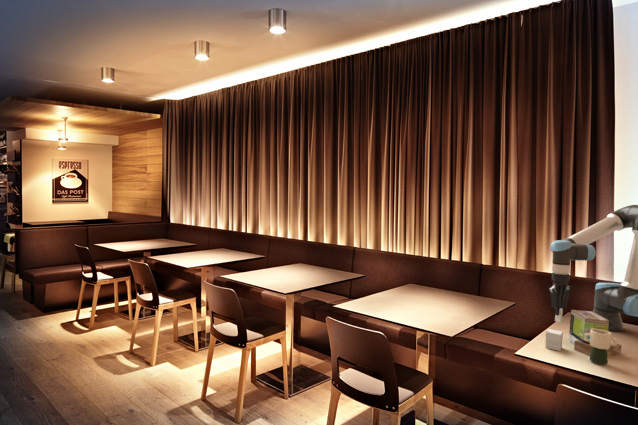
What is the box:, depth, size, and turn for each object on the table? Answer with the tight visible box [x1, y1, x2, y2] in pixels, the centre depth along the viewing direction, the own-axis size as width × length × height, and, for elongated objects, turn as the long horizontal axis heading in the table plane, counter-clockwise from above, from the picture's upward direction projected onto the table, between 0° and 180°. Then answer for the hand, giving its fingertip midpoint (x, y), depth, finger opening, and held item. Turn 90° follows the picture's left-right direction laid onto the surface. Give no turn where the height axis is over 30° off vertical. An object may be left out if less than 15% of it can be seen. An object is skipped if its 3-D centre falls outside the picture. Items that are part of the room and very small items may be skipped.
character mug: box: [584, 329, 618, 365], centre depth 177 cm, size 11×7×13 cm, turn 61°
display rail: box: [573, 340, 623, 357], centre depth 191 cm, size 16×10×4 cm, turn 113°
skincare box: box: [544, 328, 564, 352], centre depth 193 cm, size 6×6×7 cm
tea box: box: [568, 309, 609, 345], centre depth 197 cm, size 15×10×15 cm, turn 171°
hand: (558, 321), depth 211 cm, fingers closed
